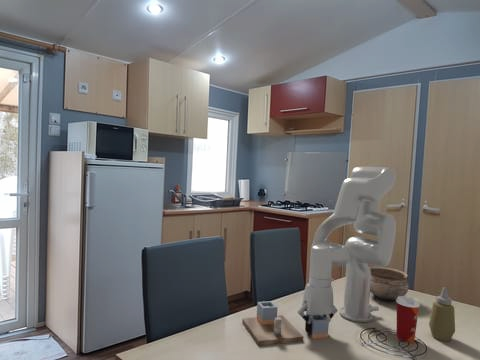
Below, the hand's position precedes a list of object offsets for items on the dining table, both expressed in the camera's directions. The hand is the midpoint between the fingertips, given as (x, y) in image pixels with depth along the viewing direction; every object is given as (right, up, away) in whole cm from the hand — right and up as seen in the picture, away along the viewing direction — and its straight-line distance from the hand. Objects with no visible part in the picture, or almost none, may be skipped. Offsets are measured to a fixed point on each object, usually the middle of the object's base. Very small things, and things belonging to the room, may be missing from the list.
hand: (316, 332), depth 121 cm
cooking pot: (+41, -2, +40) cm, 57 cm away
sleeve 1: (-17, +2, +5) cm, 18 cm away
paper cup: (+31, -3, 0) cm, 31 cm away
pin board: (-16, 0, 0) cm, 16 cm away
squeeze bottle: (+45, -3, +3) cm, 45 cm away
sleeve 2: (0, -1, 0) cm, 1 cm away
